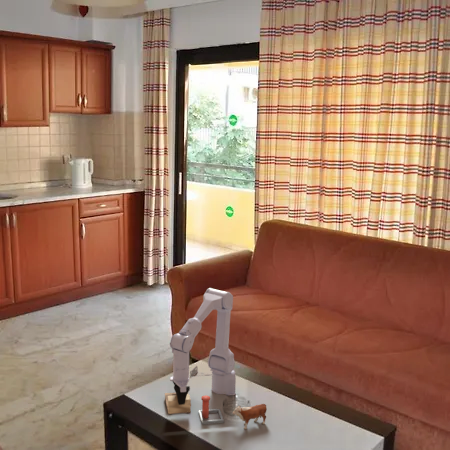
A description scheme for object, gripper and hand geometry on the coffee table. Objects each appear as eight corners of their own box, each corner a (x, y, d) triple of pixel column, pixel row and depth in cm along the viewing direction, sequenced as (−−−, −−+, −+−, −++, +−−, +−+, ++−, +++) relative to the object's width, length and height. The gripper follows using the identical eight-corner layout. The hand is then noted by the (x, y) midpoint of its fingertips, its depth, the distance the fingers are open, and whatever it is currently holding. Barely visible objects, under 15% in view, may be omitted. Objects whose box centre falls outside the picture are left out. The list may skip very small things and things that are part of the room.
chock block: (189, 406, 206) (189, 394, 205) (190, 412, 202) (190, 399, 201) (167, 408, 204) (167, 395, 203) (168, 414, 200) (168, 401, 199)
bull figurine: (230, 425, 201) (231, 405, 200) (263, 418, 206) (264, 398, 205) (235, 432, 197) (236, 411, 196) (269, 424, 202) (270, 404, 201)
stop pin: (205, 414, 207) (205, 394, 206) (211, 417, 205) (211, 397, 204) (199, 417, 205) (199, 397, 203) (205, 420, 203) (206, 400, 201)
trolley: (186, 396, 221) (187, 389, 220) (191, 414, 208) (191, 407, 207) (164, 398, 219) (164, 390, 218) (167, 416, 206) (167, 408, 205)
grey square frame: (219, 413, 209) (219, 408, 209) (223, 425, 201) (223, 420, 201) (198, 415, 207) (198, 410, 207) (201, 426, 200) (201, 421, 199)
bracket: (211, 383, 233) (211, 376, 232) (190, 379, 237) (190, 371, 236) (217, 377, 239) (217, 369, 238) (196, 372, 242) (196, 365, 242)
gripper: (168, 358, 206) (167, 392, 209) (172, 376, 192) (171, 412, 195) (186, 357, 208) (186, 390, 210) (192, 374, 194) (191, 410, 196)
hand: (180, 400), depth 203 cm, fingers closed on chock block, 4 cm apart
